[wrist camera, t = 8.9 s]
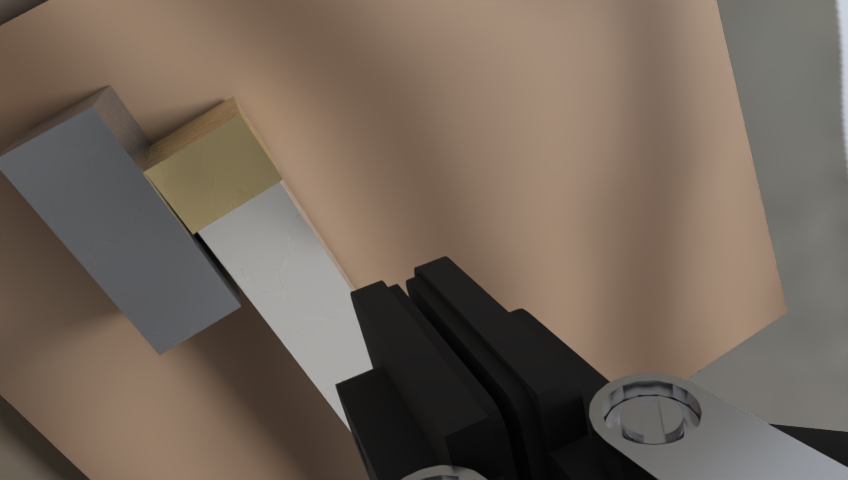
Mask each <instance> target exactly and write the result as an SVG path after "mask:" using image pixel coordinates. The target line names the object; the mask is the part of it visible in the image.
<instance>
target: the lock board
mask: <svg viewBox="0 0 848 480" xmlns="http://www.w3.org/2000/svg"><path fill="white" fill-rule="evenodd" d="M108 85H111V86H112V88H113V89H114V91H115V92H116V93H117V95H118V96H119V98H120V99H121V100H122V102H123V103H124V105H125V106H126V107H127V109H128V110H129V112H130V113H131V114H132V116H133V117H134V119H135V120H136V121H137V123H138V124H139V126H140V127H141V128H142V130H143V131H144V133H145V134H146V135H147V137H148V138H149V140H150V141H151V142H152V144H153V143H155V142H157V141H158V140H160V139H162V138H164V137H165V136H167V135H169V134H170V133H172V132H174V131H175V130H177V129H179V128H180V127H182V126H184V125H186V124H187V123H189V122H191V121H192V120H194V119H196V118H197V117H199V116H201V115H202V114H204V113H206V112H208V111H209V110H211V109H213V108H214V107H216V106H218V105H219V104H221V103H223V102H225V101H226V100H228V99H230V98H231V97H233V96H234V98H235V99H236V101H237V102H238V104H239V105H240V107H241V108H242V110H243V112H244V113H245V115H246V116H247V118H248V119H249V121H250V122H251V124H252V125H253V127H254V128H255V130H256V131H257V133H258V134H259V136H260V137H261V139H262V141H263V142H264V144H265V145H266V147H267V148H268V150H269V151H270V153H271V155H272V157H273V159H274V161H275V163H276V165H277V167H278V169H279V171H280V173H281V175H282V178H283V180H284V182H285V183H286V185H287V186H288V188H289V189H290V191H291V192H292V194H293V195H294V197H295V198H296V200H297V201H298V203H299V204H300V206H301V207H302V209H303V210H304V212H305V213H306V215H307V216H308V218H309V220H310V221H311V223H312V224H313V226H314V227H315V229H316V230H317V232H318V233H319V235H320V236H321V238H322V239H323V241H324V242H325V244H326V245H327V247H328V248H329V250H330V251H331V253H332V254H333V256H334V257H335V259H336V260H337V262H338V264H339V265H340V267H341V268H342V270H343V271H344V273H345V274H346V276H347V277H348V279H349V280H350V282H351V283H352V285H353V286H354V288H355V289H356V290H357V289H360V288H362V287H365V286H368V285H370V284H373V283H375V282H378V281H381V280H383V281H384V282H385V284H386V285H387V286H388V287H389V286H392V285H395V284H398V285H399V286H400V287H401V288H402V289H403V291H404V292H405V293H406V294H407V295H408V292H407V288H406V280H408V279H410V278H413V277H415V276H414V268H415V267H417V266H420V265H423V264H425V263H428V262H431V261H433V260H436V259H439V258H441V257H444V256H447V257H448V258H450V259H451V260H452V261H453V262H454V263H455V264H456V265H457V266H458V267H460V268H461V269H462V270H463V271H464V272H465V273H466V274H467V275H468V276H469V277H471V278H472V279H473V280H474V281H475V282H476V283H477V284H478V285H479V286H481V287H482V288H483V289H484V290H485V291H486V292H487V293H488V294H489V295H491V296H492V297H493V298H494V299H495V300H496V301H497V302H498V303H499V304H500V305H502V306H503V307H504V308H505V309H506V310H507V311H508V312H511V311H514V310H516V309H520V308H523V309H524V310H526V311H528V312H529V313H530V314H531V315H533V316H534V317H535V318H536V319H537V320H538V321H540V322H541V323H542V324H543V325H544V326H545V327H547V328H548V329H549V330H550V331H551V332H552V333H554V334H555V335H556V336H557V337H558V338H559V339H561V340H562V341H563V342H564V343H565V344H567V345H568V346H569V347H570V348H571V349H572V350H574V351H575V352H576V353H577V354H578V355H579V356H581V357H582V358H583V359H584V360H585V361H586V362H588V363H589V364H590V365H591V366H592V367H593V368H595V369H596V370H597V371H598V372H599V373H600V374H602V375H603V376H604V377H605V378H606V379H607V380H609V381H610V382H612V381H614V380H616V379H618V378H621V377H623V376H628V375H633V374H638V373H661V374H667V375H672V376H677V377H679V378H682V379H684V380H686V379H687V378H689V377H690V376H692V375H693V374H695V373H696V372H698V371H699V370H701V369H702V368H704V367H705V366H707V365H708V364H710V363H711V362H713V361H714V360H716V359H717V358H719V357H720V356H722V355H723V354H725V353H726V352H728V351H729V350H731V349H732V348H734V347H735V346H737V345H738V344H740V343H741V342H743V341H744V340H746V339H747V338H749V337H750V336H752V335H753V334H755V333H756V332H758V331H759V330H761V329H762V328H764V327H765V326H767V325H768V324H770V323H771V322H773V321H774V320H776V319H778V318H779V317H781V316H782V315H784V314H785V313H787V309H786V304H785V300H784V296H783V291H782V287H781V282H780V278H779V274H778V269H777V265H776V261H775V256H774V252H773V247H772V243H771V239H770V234H769V230H768V225H767V221H766V217H765V212H764V208H763V203H762V199H761V195H760V190H759V186H758V182H757V177H756V173H755V168H754V164H753V160H752V155H751V151H750V146H749V142H748V138H747V133H746V129H745V124H744V120H743V116H742V111H741V107H740V103H739V98H738V94H737V89H736V85H735V81H734V76H733V72H732V67H731V63H730V59H729V54H728V50H727V45H726V41H725V37H724V32H723V28H722V24H721V19H720V15H719V10H718V6H717V2H716V0H48V1H46V2H44V3H43V4H41V5H39V6H37V7H35V8H33V9H31V10H29V11H27V12H25V13H23V14H22V15H20V16H18V17H16V18H14V19H12V20H10V21H8V22H6V23H4V24H2V25H1V26H0V154H1V153H2V152H3V151H4V150H5V149H7V148H8V147H9V146H10V145H11V144H12V143H13V142H15V141H16V140H17V139H18V138H19V137H20V136H21V135H22V134H24V133H25V132H26V131H27V130H28V129H30V128H31V127H33V126H35V125H37V124H39V123H41V122H42V121H44V120H46V119H48V118H50V117H52V116H53V115H55V114H57V113H59V112H61V111H63V110H64V109H66V108H68V107H70V106H72V105H74V104H75V103H77V102H79V101H81V100H83V99H85V98H86V97H88V96H90V95H92V94H94V93H96V92H97V91H99V90H101V89H103V88H105V87H107V86H108ZM238 290H239V296H240V302H241V307H240V308H238V309H237V310H235V311H233V312H232V313H230V314H228V315H227V316H225V317H223V318H222V319H220V320H218V321H217V322H215V323H213V324H212V325H210V326H208V327H206V328H205V329H203V330H201V331H200V332H198V333H196V334H195V335H193V336H191V337H190V338H188V339H186V340H185V341H183V342H181V343H180V344H178V345H176V346H175V347H173V348H171V349H170V350H168V351H166V352H165V353H163V354H161V355H159V354H158V353H157V352H156V351H155V350H154V348H153V347H152V346H151V345H150V344H149V343H148V341H147V340H146V339H145V338H144V337H143V336H142V334H141V333H140V332H139V331H138V330H137V329H136V327H135V326H134V325H133V324H132V323H131V322H130V320H129V319H128V318H127V317H126V316H125V315H124V313H123V312H122V311H121V310H120V309H119V308H118V306H117V305H116V304H115V303H114V302H113V301H112V299H111V298H110V297H109V296H108V295H107V294H106V292H105V291H104V290H103V289H102V288H101V287H100V285H99V284H98V283H97V282H96V281H95V280H94V278H93V277H92V276H91V275H90V274H89V273H88V271H87V270H86V269H85V268H84V267H83V266H82V264H81V263H80V262H79V261H78V260H77V259H76V257H75V256H74V255H73V254H72V253H71V252H70V250H69V249H68V248H67V247H66V246H65V245H64V243H63V242H62V241H61V240H60V239H59V238H58V236H57V235H56V234H55V233H54V232H53V231H52V229H51V228H50V227H49V226H48V225H47V224H46V222H45V221H44V220H43V219H42V218H41V217H40V215H39V214H38V213H37V212H36V211H35V210H34V208H33V207H32V206H31V205H30V204H29V203H28V202H27V200H26V199H25V198H24V197H23V196H22V195H21V193H20V192H19V191H18V190H17V189H16V188H15V186H14V185H13V184H12V183H11V182H10V181H9V179H8V178H7V177H6V176H5V175H4V174H3V172H2V171H1V170H0V395H1V396H2V397H3V398H5V399H6V400H7V401H8V402H9V403H10V404H11V405H12V406H13V407H14V408H15V409H16V410H17V411H18V412H19V413H20V414H21V415H22V416H24V417H25V418H26V419H27V420H28V421H29V422H30V423H31V424H32V425H33V426H34V427H35V428H36V429H37V430H38V431H39V432H40V433H41V434H43V435H44V436H45V437H46V438H47V439H48V440H49V441H50V442H51V443H52V444H53V445H54V446H55V447H56V448H57V449H58V450H59V451H60V452H62V453H63V454H64V455H65V456H66V457H67V458H68V459H69V460H70V461H71V462H72V463H73V464H74V465H75V466H76V467H77V468H78V469H79V470H81V471H82V472H83V473H84V474H85V475H86V476H87V477H88V478H89V479H90V480H370V479H369V476H368V474H367V472H366V469H365V467H364V464H363V462H362V459H361V457H360V454H359V451H358V449H357V446H356V444H355V441H354V438H353V436H352V433H351V431H350V430H349V429H348V427H347V426H346V425H345V423H344V422H343V421H342V420H341V418H340V417H339V416H338V414H337V413H336V412H335V410H334V409H333V408H332V407H331V405H330V404H329V403H328V401H327V400H326V399H325V397H324V396H323V395H322V393H321V392H320V391H319V390H318V388H317V387H316V386H315V384H314V383H313V382H312V380H311V379H310V378H309V377H308V375H307V374H306V373H305V371H304V370H303V369H302V367H301V366H300V365H299V363H298V362H297V361H296V360H295V358H294V357H293V356H292V354H291V353H290V352H289V350H288V349H287V348H286V347H285V345H284V344H283V343H282V341H281V340H280V339H279V337H278V336H277V335H276V333H275V332H274V331H273V330H272V328H271V327H270V326H269V324H268V323H267V322H266V320H265V319H264V318H263V317H262V315H261V314H260V313H259V311H258V310H257V309H256V307H255V306H254V305H253V303H252V302H251V301H250V300H249V298H248V297H247V296H246V294H245V293H244V292H243V290H242V289H241V288H240V287H239V285H238ZM408 297H409V295H408Z"/></svg>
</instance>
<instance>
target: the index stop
mask: <svg viewBox="0 0 848 480" xmlns="http://www.w3.org/2000/svg"><path fill="white" fill-rule="evenodd" d="M151 145H152V142H151V141H150V140H149V138H148V137H147V135H146V134H145V133H144V131H143V130H142V128H141V127H140V126H139V124H138V123H137V121H136V120H135V119H134V117H133V116H132V114H131V113H130V112H129V110H128V109H127V107H126V106H125V105H124V103H123V102H122V100H121V99H120V98H119V96H118V95H117V93H116V92H115V91H114V89H113V88H112V86H111V85H108V86H107V87H105V88H103V89H101V90H99V91H97V92H96V93H94V94H92V95H90V96H88V97H86V98H85V99H83V100H81V101H79V102H77V103H75V104H74V105H72V106H70V107H68V108H66V109H64V110H63V111H61V112H59V113H57V114H55V115H53V116H52V117H50V118H48V119H46V120H44V121H42V122H41V123H39V124H37V125H35V126H33V127H31V128H30V129H28V130H27V131H26V132H25V133H24V134H22V135H21V136H20V137H19V138H18V139H17V140H16V141H15V142H13V143H12V144H11V145H10V146H9V147H8V148H7V149H5V150H4V151H3V152H2V153H1V154H0V170H1V171H2V172H3V174H4V175H5V176H6V177H7V178H8V179H9V181H10V182H11V183H12V184H13V185H14V186H15V188H16V189H17V190H18V191H19V192H20V193H21V195H22V196H23V197H24V198H25V199H26V200H27V202H28V203H29V204H30V205H31V206H32V207H33V208H34V210H35V211H36V212H37V213H38V214H39V215H40V217H41V218H42V219H43V220H44V221H45V222H46V224H47V225H48V226H49V227H50V228H51V229H52V231H53V232H54V233H55V234H56V235H57V236H58V238H59V239H60V240H61V241H62V242H63V243H64V245H65V246H66V247H67V248H68V249H69V250H70V252H71V253H72V254H73V255H74V256H75V257H76V259H77V260H78V261H79V262H80V263H81V264H82V266H83V267H84V268H85V269H86V270H87V271H88V273H89V274H90V275H91V276H92V277H93V278H94V280H95V281H96V282H97V283H98V284H99V285H100V287H101V288H102V289H103V290H104V291H105V292H106V294H107V295H108V296H109V297H110V298H111V299H112V301H113V302H114V303H115V304H116V305H117V306H118V308H119V309H120V310H121V311H122V312H123V313H124V315H125V316H126V317H127V318H128V319H129V320H130V322H131V323H132V324H133V325H134V326H135V327H136V329H137V330H138V331H139V332H140V333H141V334H142V336H143V337H144V338H145V339H146V340H147V341H148V343H149V344H150V345H151V346H152V347H153V348H154V350H155V351H156V352H157V353H158V354H159V355H161V354H163V353H165V352H166V351H168V350H170V349H171V348H173V347H175V346H176V345H178V344H180V343H181V342H183V341H185V340H186V339H188V338H190V337H191V336H193V335H195V334H196V333H198V332H200V331H201V330H203V329H205V328H206V327H208V326H210V325H212V324H213V323H215V322H217V321H218V320H220V319H222V318H223V317H225V316H227V315H228V314H230V313H232V312H233V311H235V310H237V309H238V308H240V307H241V302H240V296H239V290H238V284H237V283H236V281H235V280H234V279H233V277H232V276H231V275H230V273H229V272H228V271H227V270H226V268H225V267H224V266H223V264H222V263H221V262H220V260H219V259H218V258H217V257H216V255H215V254H214V253H213V251H212V250H211V249H210V247H209V246H208V245H207V243H206V242H205V241H204V240H203V238H202V237H201V236H200V234H199V233H198V232H196V233H195V234H192V233H191V231H190V230H189V229H188V228H187V226H186V225H185V224H184V222H183V221H182V220H181V218H180V217H179V216H178V215H177V213H176V212H175V211H174V209H173V208H172V207H171V206H170V204H169V203H168V202H167V200H166V199H165V198H164V196H163V195H162V194H161V193H160V191H159V190H158V189H157V187H156V186H155V185H154V184H153V182H152V181H151V180H150V178H149V177H148V176H147V174H146V173H145V172H144V171H145V167H146V163H147V159H148V155H149V151H150V147H151Z"/></svg>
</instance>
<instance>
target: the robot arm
mask: <svg viewBox="0 0 848 480" xmlns="http://www.w3.org/2000/svg"><path fill="white" fill-rule="evenodd" d="M414 276H415V277H413V278H410V279H408V280H406V288H407V292H408V295H409V297H408V295H407V294H406V293H405V292H404V291H403V289H402V288H401V287H400V286H399V285H398V284H395V285H392V286H389V287H388V286H387V285H386V284H385V282H384V281H383V280H381V281H378V282H375V283H373V284H370V285H368V286H365V287H362V288H360V289H357V290H354V291H352V292H350V296H351V300H352V303H353V307H354V310H355V313H356V316H357V319H358V323H359V326H360V329H361V332H362V335H363V338H364V342H365V345H366V348H367V351H368V354H369V357H370V361H371V364H372V367H373V369H371V370H369V371H366V372H364V373H361V374H359V375H356V376H354V377H352V378H349V379H347V380H344V381H342V382H340V383H337V384H335V386H336V390H337V393H338V396H339V399H340V402H341V405H342V407H343V410H344V413H345V416H346V419H347V422H348V424H349V427H350V430H351V433H352V436H353V438H354V441H355V444H356V446H357V449H358V451H359V454H360V457H361V459H362V462H363V464H364V467H365V469H366V472H367V474H368V476H369V479H370V480H848V432H843V431H833V430H823V429H814V428H804V427H794V426H784V425H775V424H767V423H765V422H763V421H762V420H760V419H758V418H756V417H754V416H752V415H751V414H749V413H747V412H745V411H743V410H741V409H740V408H738V407H736V406H734V405H732V404H730V403H729V402H727V401H725V400H723V399H721V398H720V397H718V396H716V395H714V394H712V393H710V392H709V391H707V390H705V389H703V388H701V387H699V386H698V385H696V384H694V383H692V382H689V381H687V380H684V379H682V378H679V377H677V376H672V375H667V374H661V373H638V374H633V375H628V376H623V377H621V378H618V379H616V380H614V381H612V382H610V381H609V380H607V379H606V378H605V377H604V376H603V375H602V374H600V373H599V372H598V371H597V370H596V369H595V368H593V367H592V366H591V365H590V364H589V363H588V362H586V361H585V360H584V359H583V358H582V357H581V356H579V355H578V354H577V353H576V352H575V351H574V350H572V349H571V348H570V347H569V346H568V345H567V344H565V343H564V342H563V341H562V340H561V339H559V338H558V337H557V336H556V335H555V334H554V333H552V332H551V331H550V330H549V329H548V328H547V327H545V326H544V325H543V324H542V323H541V322H540V321H538V320H537V319H536V318H535V317H534V316H533V315H531V314H530V313H529V312H528V311H526V310H524V309H523V308H520V309H516V310H514V311H511V312H508V311H507V310H506V309H505V308H504V307H503V306H502V305H500V304H499V303H498V302H497V301H496V300H495V299H494V298H493V297H492V296H491V295H489V294H488V293H487V292H486V291H485V290H484V289H483V288H482V287H481V286H479V285H478V284H477V283H476V282H475V281H474V280H473V279H472V278H471V277H469V276H468V275H467V274H466V273H465V272H464V271H463V270H462V269H461V268H460V267H458V266H457V265H456V264H455V263H454V262H453V261H452V260H451V259H450V258H448V257H447V256H444V257H441V258H439V259H436V260H433V261H431V262H428V263H425V264H423V265H420V266H417V267H415V268H414Z"/></svg>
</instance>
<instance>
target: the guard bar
mask: <svg viewBox="0 0 848 480" xmlns="http://www.w3.org/2000/svg"><path fill="white" fill-rule="evenodd" d="M144 172H145V173H146V174H147V176H148V177H149V178H150V180H151V181H152V182H153V184H154V185H155V186H156V187H157V189H158V190H159V191H160V193H161V194H162V195H163V196H164V198H165V199H166V200H167V202H168V203H169V204H170V206H171V207H172V208H173V209H174V211H175V212H176V213H177V215H178V216H179V217H180V218H181V220H182V221H183V222H184V224H185V225H186V226H187V228H188V229H189V230H190V231H191V233H192V234H195V233H196V232H198V233H199V234H200V236H201V237H202V238H203V240H204V241H205V242H206V243H207V245H208V246H209V247H210V249H211V250H212V251H213V253H214V254H215V255H216V257H217V258H218V259H219V260H220V262H221V263H222V264H223V266H224V267H225V268H226V270H227V271H228V272H229V273H230V275H231V276H232V277H233V279H234V280H235V281H236V283H237V284H238V285H239V287H240V288H241V289H242V290H243V292H244V293H245V294H246V296H247V297H248V298H249V300H250V301H251V302H252V303H253V305H254V306H255V307H256V309H257V310H258V311H259V313H260V314H261V315H262V317H263V318H264V319H265V320H266V322H267V323H268V324H269V326H270V327H271V328H272V330H273V331H274V332H275V333H276V335H277V336H278V337H279V339H280V340H281V341H282V343H283V344H284V345H285V347H286V348H287V349H288V350H289V352H290V353H291V354H292V356H293V357H294V358H295V360H296V361H297V362H298V363H299V365H300V366H301V367H302V369H303V370H304V371H305V373H306V374H307V375H308V377H309V378H310V379H311V380H312V382H313V383H314V384H315V386H316V387H317V388H318V390H319V391H320V392H321V393H322V395H323V396H324V397H325V399H326V400H327V401H328V403H329V404H330V405H331V407H332V408H333V409H334V410H335V412H336V413H337V414H338V416H339V417H340V418H341V420H342V421H343V422H344V423H345V425H346V426H347V427H348V429H349V430H350V427H349V424H348V422H347V419H346V416H345V413H344V410H343V407H342V405H341V402H340V399H339V396H338V393H337V390H336V386H335V384H337V383H340V382H342V381H344V380H347V379H349V378H352V377H354V376H356V375H359V374H361V373H364V372H366V371H369V370H371V369H373V367H372V364H371V361H370V357H369V354H368V351H367V348H366V345H365V342H364V338H363V335H362V332H361V329H360V326H359V323H358V319H357V316H356V313H355V310H354V307H353V303H352V300H351V296H350V292H352V291H354V290H356V289H355V288H354V286H353V285H352V283H351V282H350V280H349V279H348V277H347V276H346V274H345V273H344V271H343V270H342V268H341V267H340V265H339V264H338V262H337V260H336V259H335V257H334V256H333V254H332V253H331V251H330V250H329V248H328V247H327V245H326V244H325V242H324V241H323V239H322V238H321V236H320V235H319V233H318V232H317V230H316V229H315V227H314V226H313V224H312V223H311V221H310V220H309V218H308V216H307V215H306V213H305V212H304V210H303V209H302V207H301V206H300V204H299V203H298V201H297V200H296V198H295V197H294V195H293V194H292V192H291V191H290V189H289V188H288V186H287V185H286V183H285V182H284V180H283V178H282V175H281V173H280V171H279V169H278V167H277V165H276V163H275V161H274V159H273V157H272V155H271V153H270V151H269V150H268V148H267V147H266V145H265V144H264V142H263V141H262V139H261V137H260V136H259V134H258V133H257V131H256V130H255V128H254V127H253V125H252V124H251V122H250V121H249V119H248V118H247V116H246V115H245V113H244V112H243V110H242V108H241V107H240V105H239V104H238V102H237V101H236V99H235V98H234V96H233V97H231V98H230V99H228V100H226V101H225V102H223V103H221V104H219V105H218V106H216V107H214V108H213V109H211V110H209V111H208V112H206V113H204V114H202V115H201V116H199V117H197V118H196V119H194V120H192V121H191V122H189V123H187V124H186V125H184V126H182V127H180V128H179V129H177V130H175V131H174V132H172V133H170V134H169V135H167V136H165V137H164V138H162V139H160V140H158V141H157V142H155V143H153V144H152V145H151V147H150V151H149V155H148V159H147V163H146V167H145V171H144ZM350 431H351V430H350Z"/></svg>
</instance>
